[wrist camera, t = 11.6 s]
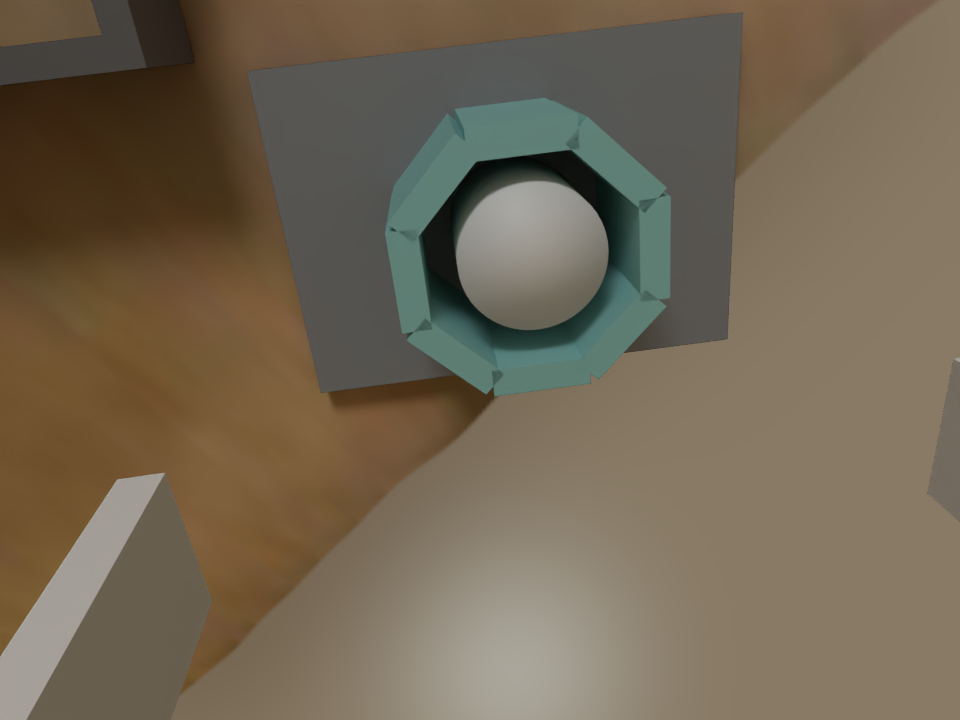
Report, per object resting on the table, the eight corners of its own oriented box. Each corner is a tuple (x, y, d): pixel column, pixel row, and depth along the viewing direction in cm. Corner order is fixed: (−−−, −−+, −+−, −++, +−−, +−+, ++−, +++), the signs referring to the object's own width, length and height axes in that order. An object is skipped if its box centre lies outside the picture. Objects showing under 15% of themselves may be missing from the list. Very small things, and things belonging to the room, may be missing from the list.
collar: (415, 339, 30) (414, 407, 24) (379, 118, 26) (369, 139, 21) (624, 312, 30) (669, 372, 25) (618, 88, 26) (671, 102, 21)
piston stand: (323, 382, 31) (301, 462, 25) (252, 70, 26) (204, 80, 20) (718, 330, 32) (786, 397, 26) (731, 13, 26) (821, 6, 20)
